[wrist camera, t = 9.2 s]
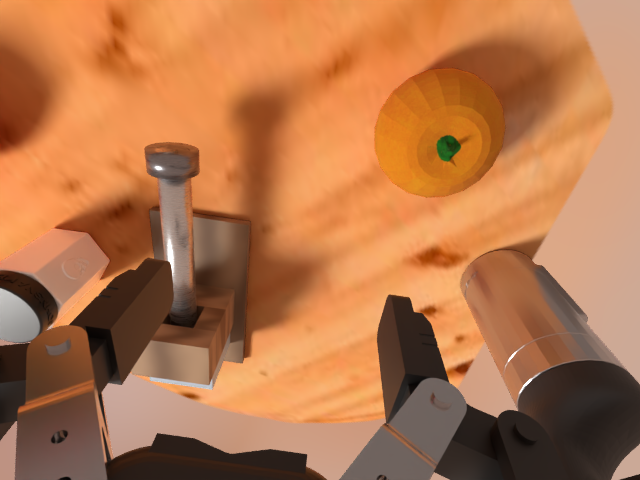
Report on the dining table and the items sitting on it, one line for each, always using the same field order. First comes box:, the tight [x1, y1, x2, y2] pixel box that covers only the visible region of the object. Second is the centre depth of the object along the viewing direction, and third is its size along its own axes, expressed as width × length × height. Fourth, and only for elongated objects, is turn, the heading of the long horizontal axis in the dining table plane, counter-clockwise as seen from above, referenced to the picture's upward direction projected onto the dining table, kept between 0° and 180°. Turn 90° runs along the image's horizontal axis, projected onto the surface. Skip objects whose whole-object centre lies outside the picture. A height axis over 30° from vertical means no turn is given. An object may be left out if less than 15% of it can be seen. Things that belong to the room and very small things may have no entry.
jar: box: [0, 228, 110, 343], centre depth 42 cm, size 9×8×12 cm
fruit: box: [375, 68, 505, 198], centre depth 33 cm, size 12×12×10 cm
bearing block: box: [131, 207, 251, 385], centre depth 44 cm, size 12×24×12 cm, turn 172°
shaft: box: [145, 142, 200, 328], centre depth 38 cm, size 24×5×5 cm, turn 172°
